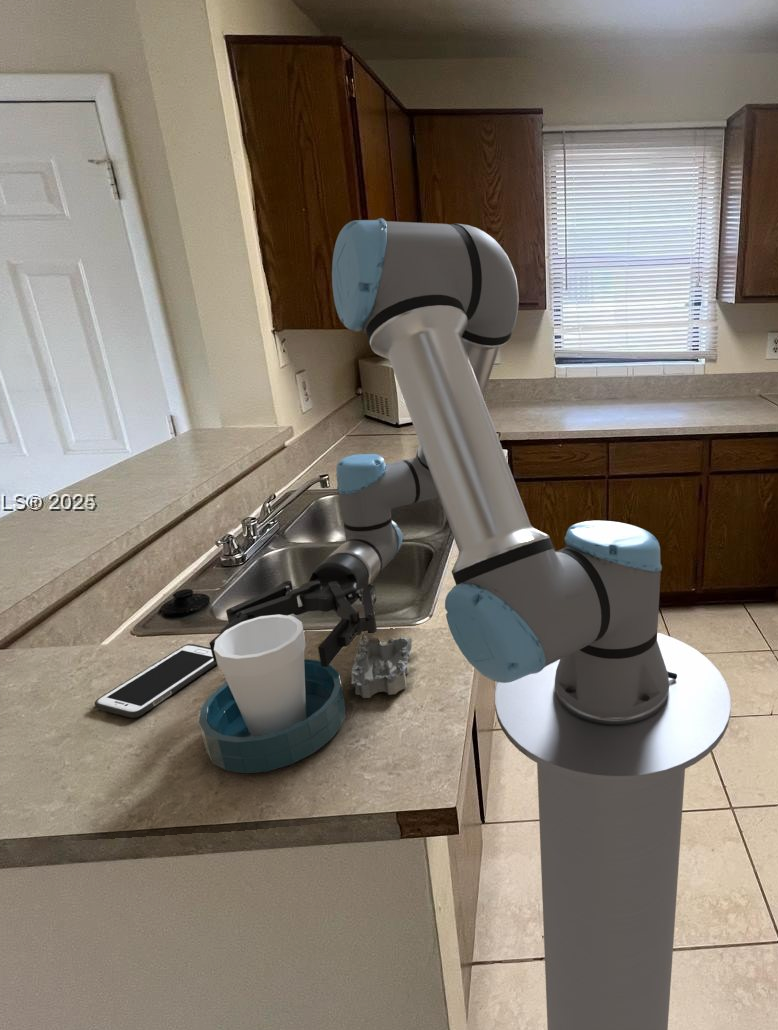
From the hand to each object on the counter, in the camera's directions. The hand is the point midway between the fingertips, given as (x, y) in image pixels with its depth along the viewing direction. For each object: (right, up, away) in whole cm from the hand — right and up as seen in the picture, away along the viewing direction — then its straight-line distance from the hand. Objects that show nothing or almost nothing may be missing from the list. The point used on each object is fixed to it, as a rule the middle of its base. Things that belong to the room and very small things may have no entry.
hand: (267, 655), depth 73 cm
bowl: (0, -10, +3) cm, 11 cm away
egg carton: (+10, -6, +14) cm, 18 cm away
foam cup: (0, -10, +3) cm, 10 cm away
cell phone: (-21, -7, +12) cm, 25 cm away
